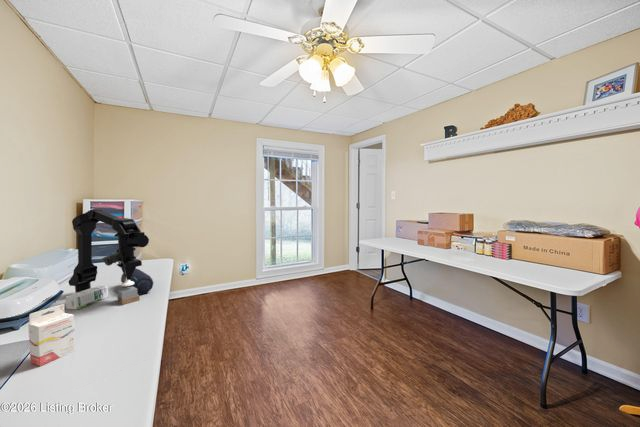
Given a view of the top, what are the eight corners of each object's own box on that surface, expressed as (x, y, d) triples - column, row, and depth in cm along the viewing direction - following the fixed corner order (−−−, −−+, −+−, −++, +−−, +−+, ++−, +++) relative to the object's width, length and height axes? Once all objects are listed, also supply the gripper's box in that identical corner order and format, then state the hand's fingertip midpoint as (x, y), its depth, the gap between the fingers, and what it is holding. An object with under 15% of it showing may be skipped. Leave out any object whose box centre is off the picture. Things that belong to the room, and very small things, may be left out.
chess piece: (125, 282, 123) (124, 262, 122) (136, 282, 123) (135, 262, 123) (118, 286, 118) (117, 264, 118) (130, 286, 119) (129, 264, 118)
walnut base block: (117, 302, 120) (117, 296, 120) (134, 298, 125) (134, 292, 125) (122, 306, 116) (122, 299, 116) (139, 301, 121) (139, 295, 121)
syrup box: (75, 297, 111) (108, 285, 125) (64, 296, 112) (98, 285, 126) (76, 310, 111) (109, 297, 125) (65, 309, 112) (99, 296, 126)
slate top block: (118, 296, 120) (117, 289, 120) (133, 292, 125) (132, 286, 125) (122, 299, 117) (121, 292, 117) (137, 295, 121) (137, 288, 121)
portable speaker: (119, 287, 140) (118, 269, 140) (141, 282, 148) (140, 265, 147) (132, 298, 124) (131, 278, 123) (155, 293, 131) (154, 273, 131)
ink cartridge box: (40, 367, 73) (36, 316, 72) (30, 363, 75) (26, 314, 74) (76, 350, 81) (73, 304, 81) (67, 347, 83) (64, 302, 82)
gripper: (98, 246, 119) (99, 279, 120) (110, 251, 108) (112, 288, 109) (126, 243, 128) (128, 274, 129) (141, 247, 117) (143, 281, 118)
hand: (127, 279), depth 121 cm, fingers closed on chess piece
